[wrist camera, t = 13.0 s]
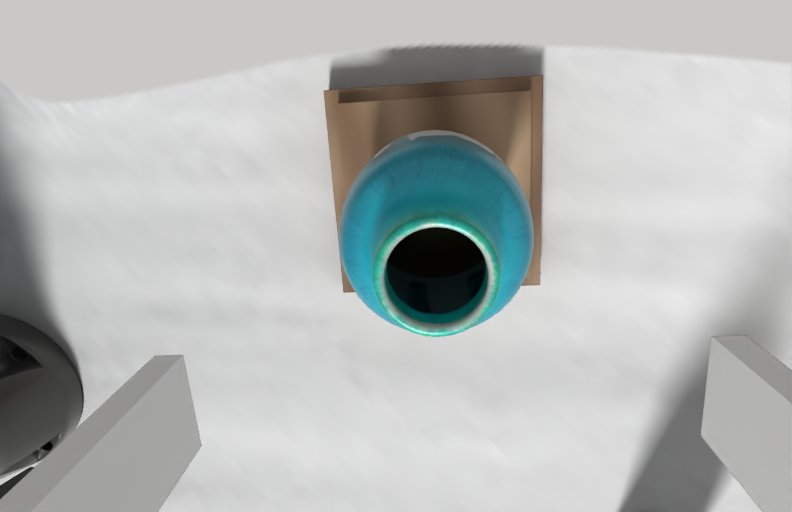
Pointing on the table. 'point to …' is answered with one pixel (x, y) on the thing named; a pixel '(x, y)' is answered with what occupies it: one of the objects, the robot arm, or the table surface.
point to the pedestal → (441, 110)
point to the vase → (436, 233)
